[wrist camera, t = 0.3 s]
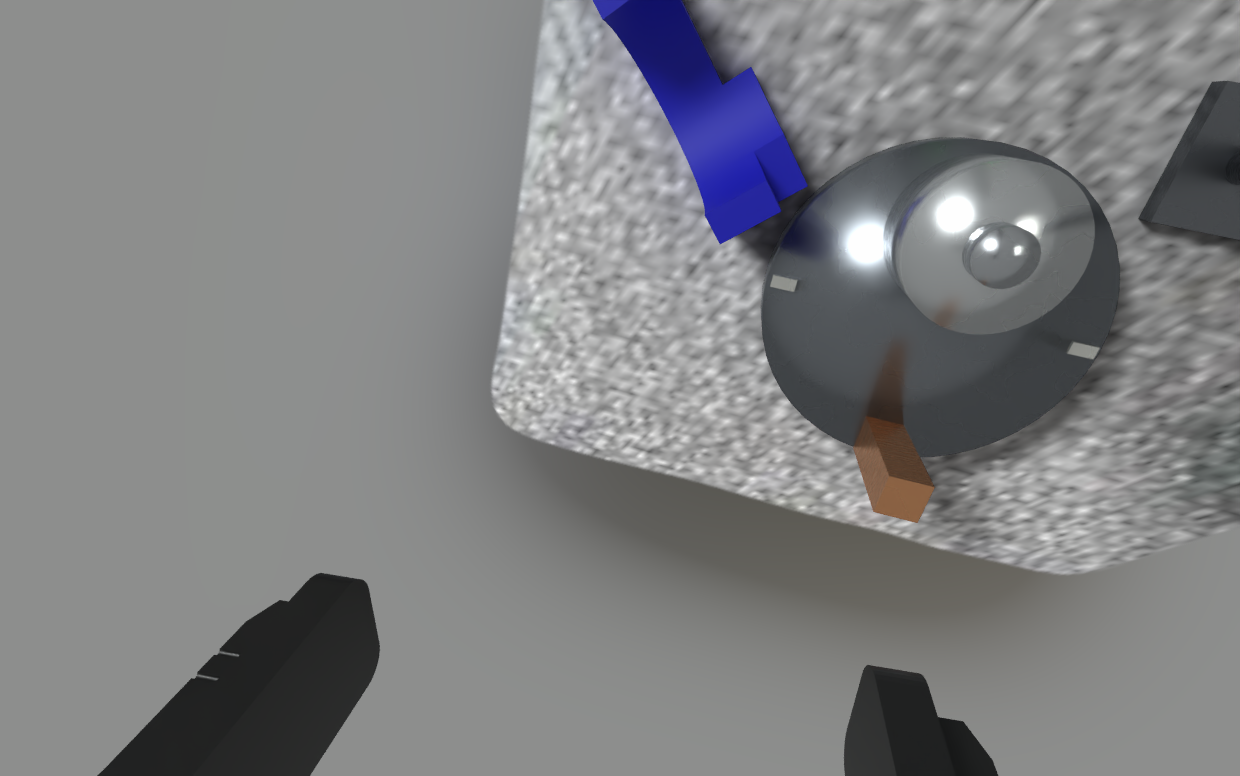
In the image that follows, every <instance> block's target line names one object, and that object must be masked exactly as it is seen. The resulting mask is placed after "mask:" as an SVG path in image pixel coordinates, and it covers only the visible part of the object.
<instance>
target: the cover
mask: <svg viewBox="0 0 1240 776" xmlns="http://www.w3.org/2000/svg"><path fill="white" fill-rule="evenodd" d="M1094 238H1095V224H1094V218H1093V213H1092V210H1091V207H1090V204H1089V202H1088V200H1087V198H1086V196H1085V194H1084V193H1083V191H1082V190H1081V189H1080V187H1079V186H1078V185H1077V184H1076V183H1075V182H1074V181H1073V180H1072V179H1071V178H1070V177H1069V176H1067V175H1065V174H1064V173H1062V172H1061V171H1059V170H1057V169H1055V168H1053V167H1051V166H1048V165H1045V164H1042V163H1038V162H1034V161H1028V160H1023V159H1017V158H1012V157H1006V156H1001V155H995V154H987V153H974V154H966V155H961V156H957V157H953V158H950V159H947V160H945V161H942V162H940V163H938V164H936V165H934V166H932V167H930V168H929V169H927V170H926V171H924V172H923V173H921V174H920V175H919V176H918V177H916V178H915V179H914V180H913V181H912V182H911V183H910V184H909V185H908V186H907V187H906V188H905V189H904V190H903V191H902V193H901V194H900V195H899V197H898V198H897V200H896V201H895V203H894V205H893V206H892V208H891V210H890V213H889V215H888V217H887V220H886V224H885V227H884V233H883V247H882V248H883V256H884V260H885V264H886V267H887V269H888V271H889V273H890V275H891V277H892V278H893V280H894V281H895V283H896V284H897V285H898V286H899V287H900V288H901V290H902V291H903V292H904V293H905V294H906V295H907V297H908V298H909V299H910V300H911V301H912V302H913V304H914V305H915V306H916V307H917V308H918V309H919V310H920V312H921V313H922V314H924V315H925V316H926V317H927V318H928V319H930V320H931V321H933V322H935V323H936V324H938V325H940V326H942V327H944V328H947V329H949V330H953V331H956V332H960V333H966V334H980V335H982V334H995V333H1000V332H1006V331H1009V330H1012V329H1016V328H1019V327H1021V326H1024V325H1026V324H1028V323H1031V322H1032V321H1034V320H1036V319H1038V318H1040V317H1041V316H1043V315H1044V314H1046V313H1047V312H1049V311H1050V310H1052V309H1053V308H1054V307H1055V306H1057V305H1058V304H1059V303H1060V302H1061V301H1062V300H1063V299H1064V298H1065V297H1066V296H1067V295H1068V294H1069V293H1070V292H1071V291H1072V289H1073V288H1074V287H1075V285H1076V284H1077V283H1078V281H1079V280H1080V278H1081V276H1082V275H1083V273H1084V271H1085V269H1086V267H1087V265H1088V262H1089V260H1090V257H1091V253H1092V250H1093V245H1094Z"/></svg>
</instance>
